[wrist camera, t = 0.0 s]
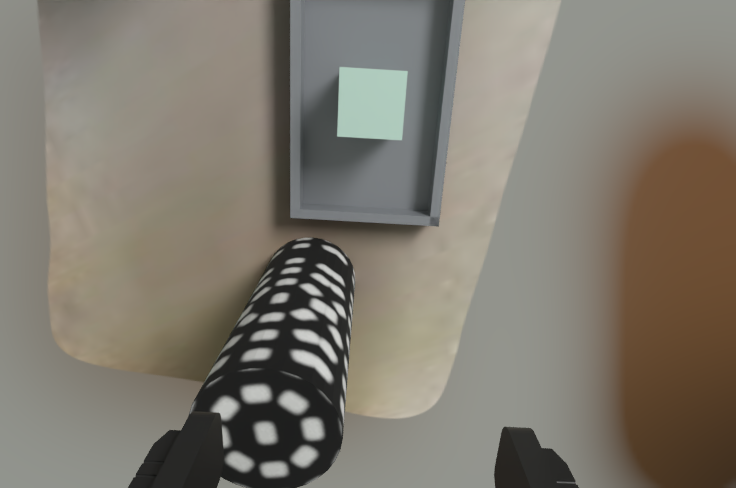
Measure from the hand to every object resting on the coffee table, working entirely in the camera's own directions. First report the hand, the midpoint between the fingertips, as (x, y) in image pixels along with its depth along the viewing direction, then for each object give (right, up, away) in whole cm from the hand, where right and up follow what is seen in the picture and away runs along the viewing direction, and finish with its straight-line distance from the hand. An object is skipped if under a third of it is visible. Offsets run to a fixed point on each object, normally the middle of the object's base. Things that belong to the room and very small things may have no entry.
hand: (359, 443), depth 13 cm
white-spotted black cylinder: (-5, +2, +31) cm, 31 cm away
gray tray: (0, +18, +25) cm, 30 cm away
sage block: (0, +17, +24) cm, 30 cm away
